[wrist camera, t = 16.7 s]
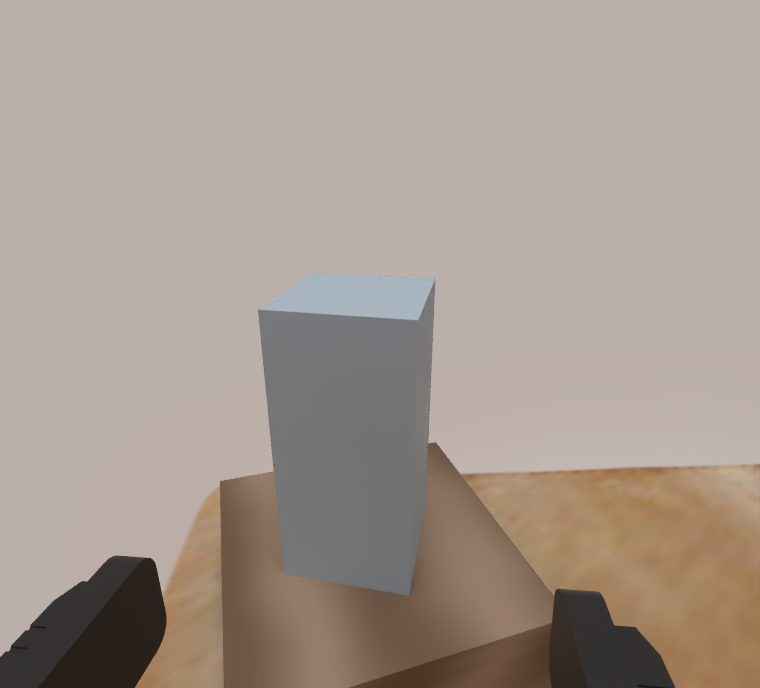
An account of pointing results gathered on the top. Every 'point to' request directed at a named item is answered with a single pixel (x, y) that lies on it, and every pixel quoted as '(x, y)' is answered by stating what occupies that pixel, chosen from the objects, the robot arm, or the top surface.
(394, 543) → the slate block
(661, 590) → the top surface
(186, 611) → the top surface
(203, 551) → the top surface
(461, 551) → the walnut block
